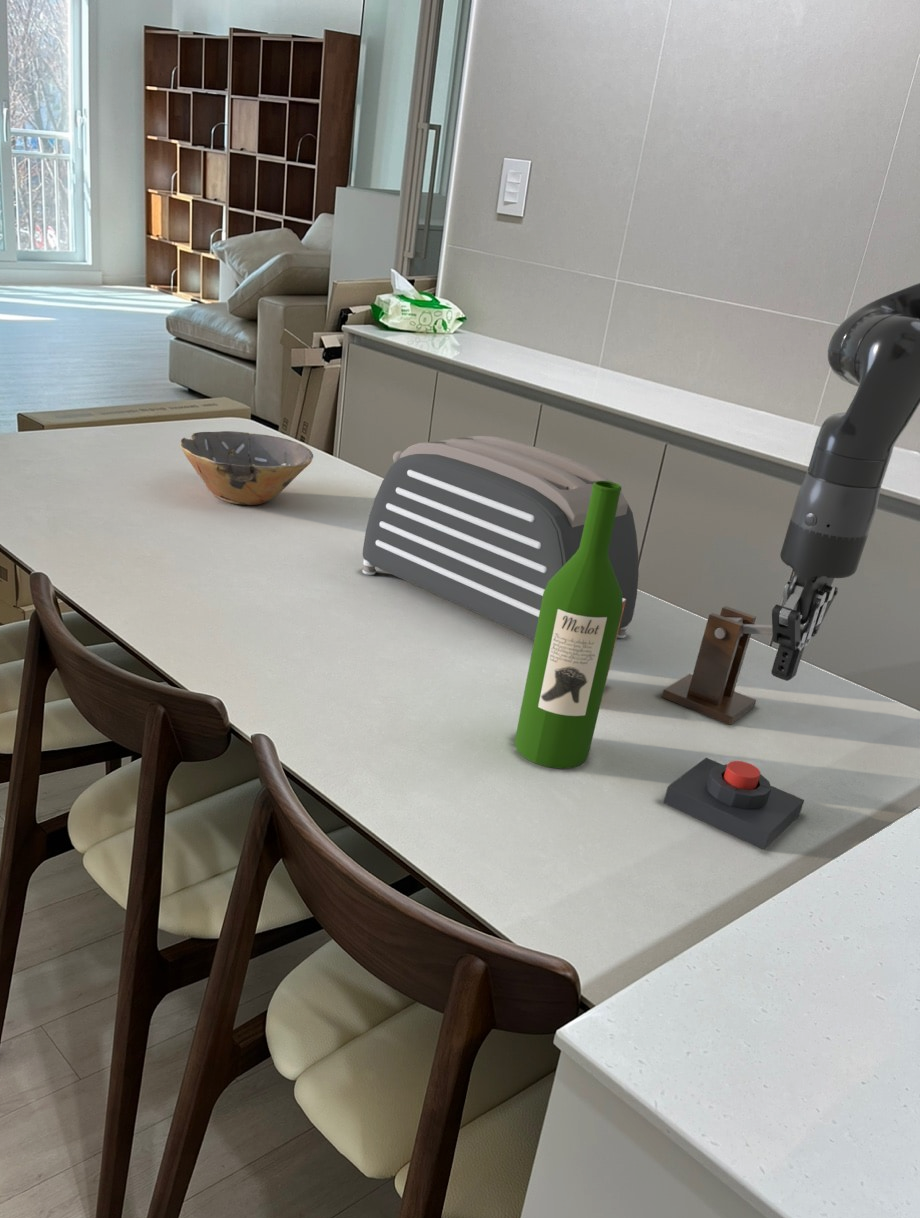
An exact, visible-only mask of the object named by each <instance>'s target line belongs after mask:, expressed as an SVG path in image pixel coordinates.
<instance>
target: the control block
mask: <svg viewBox="0 0 920 1218" xmlns="http://www.w3.org/2000/svg"><path fill="white" fill-rule="evenodd" d="M727 765H728V763H727V764H723V763H720V762H718V761H716V760H713V759H711V758H709V757H705V758H703V759H702V760H701V761H699V762H698V763H696V764H695V765H694V766H693V767H692V768H690V769H689V770H688V771H686V772H685V773H683V775H681V776H680V777H678V778H677V779H675V780H674V781H673V782H672V783H671V784H669V785H668V786H667V788H666V792H665V795H664V799H663V803H664V804H666V805H667V806H669V807H672V808H674V809H676V810H678V811H680V812H683V813H685V814H687V815H689V816H690V817H692V818H695V819H697V820H699V821H702V822H704V823H706V824H708V825H710V826H712V827H714V828H717V829H719V830H721V831H723V832H725V833H727V834H729V835H732V836H733V837H736V838H737V839H740V840H743V841H745V842H746V843H748V844H751V845H753V846H755V847H757V848H759V849H762V850H766V849H767V848H768V847H769V846H770V845H771V844H772V843H773V842H774V841H776V839H777V838H778V837H779V836H781V835H782V833H783V832H784V831H786V829H787V828H788V827H790V825H792V823H793V822H795V820H797V818H799V817H800V814H801V811H802V808H803V806H804V804H805V799H803V798H801V797H799V796H796V795H794V794H791V793H789V792H787V791H784V790H782V789H780V788H778V787H776V786H773V785H771V782H770V780H769V779H768V778H766V777H765V776H764V775H763V774H762V773H761V774H760V777H759V780H758V784H757V787H756V788H755V789H753V790H745V789H740V788H737V787H734V786H732V785H730V784H728V783H727V782H726V781H724V774H725V771H726V768H727Z"/></svg>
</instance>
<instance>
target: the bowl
mask: <svg viewBox="0 0 920 1218" xmlns="http://www.w3.org/2000/svg"><path fill="white" fill-rule="evenodd" d="M179 447H180V449H181V451H182V452H183V454H184V456H185V457H186V459H187V460H188V461H189V463H190V465H191V466H192V468H193V469H194V470H195V472H196V474H197V475H198V476H199V477H200V479H201V480H202V481H203V483H204V484H205V486H206V488H207V489H208V490H209V491H210V492H211V493H212V495H213V496H215V497H216V498H217V499H219V500H221V501H222V502H225V503H228V504H229V503H230V504H233V505H241V506H246V505H248V506H258V505H262V504H265V503H267V502H268V501H271V500H273V499H274V498H276V497H277V496H279V494H281V493H282V492H283V490H285V488H287V487H288V486H289V485H290V484H291V483H292V482H293V481H294V480H295V479H296V478H297V477H298V476H299V475H300V474H301V473H302V472H303V471H304V470H305V469H306V468H307V467H308V466H309V465H310V464H311V463H312V462H313V459H314V454H313V452H312V450H311V449H309V448H308V447H307V446H306V445H304V444H302V443H299V442H298V441H293V440H291V439H288V438H283V437H279V436H273V435H269V434H260V433H250V432H245V431H235V430H232V431H231V430H229V431H228V430H223V431H221V430H219V431H199V432H194V433H192V434H191V435H190V438H186V437H182V438H181V439H180V441H179Z"/></svg>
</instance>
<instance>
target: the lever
mask: <svg viewBox="0 0 920 1218" xmlns="http://www.w3.org/2000/svg"><path fill="white" fill-rule="evenodd" d="M726 618H729V619H731V620H734V621H737V622H740V623H743V618H733V617H726ZM820 628H821V626H820V627H819V629H818V631H819V630H820ZM743 633H745V634H751V635H769V636H771V635H772V636H773V633H772V624H755V623H754V624H744V626H743V629H742V633H741V636H743ZM741 636H740V637H741Z"/></svg>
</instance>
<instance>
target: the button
mask: <svg viewBox="0 0 920 1218" xmlns="http://www.w3.org/2000/svg"><path fill="white" fill-rule="evenodd" d="M727 764H728V765H727V768H726V771H725V774H724V781H726V782H727V783H728V784H730V785H732V786H734V787H737V788H740V789H745V790H753V789H755V788H756V787H757V784H758V780H759V777H760V774H761V775H762V773H761V771H760V769H759V768H758V767H757V766H755V765H754V764H751V763H749V762H746V761H742V760H732V761H729V762H728V763H727Z"/></svg>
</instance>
